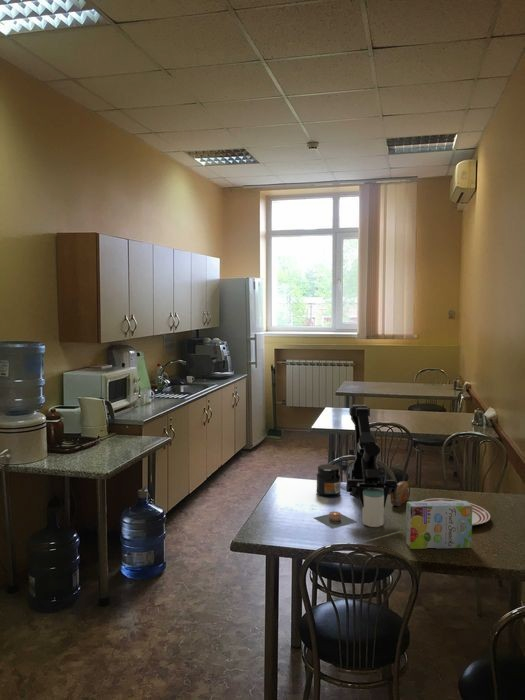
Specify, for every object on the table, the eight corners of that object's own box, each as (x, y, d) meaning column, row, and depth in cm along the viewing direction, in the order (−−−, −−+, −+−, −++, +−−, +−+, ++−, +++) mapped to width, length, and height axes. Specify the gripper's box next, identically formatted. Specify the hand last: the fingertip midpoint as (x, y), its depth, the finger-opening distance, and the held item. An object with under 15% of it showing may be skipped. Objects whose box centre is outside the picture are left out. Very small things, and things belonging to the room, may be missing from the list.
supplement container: (342, 498, 241) (342, 470, 240) (317, 498, 240) (318, 470, 239) (338, 490, 251) (339, 463, 250) (315, 490, 251) (315, 463, 250)
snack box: (465, 542, 197) (466, 500, 195) (471, 549, 191) (473, 505, 190) (405, 542, 196) (406, 500, 195) (409, 549, 190) (411, 506, 189)
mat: (312, 519, 217) (313, 517, 217) (337, 513, 223) (337, 512, 223) (332, 529, 207) (332, 528, 207) (357, 523, 213) (357, 522, 213)
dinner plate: (485, 509, 229) (486, 501, 229) (494, 535, 203) (494, 526, 202) (416, 502, 236) (416, 494, 236) (415, 527, 210) (415, 518, 210)
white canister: (361, 518, 215) (361, 488, 214) (381, 519, 215) (381, 488, 214) (364, 526, 208) (364, 495, 207) (384, 527, 208) (385, 495, 207)
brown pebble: (326, 519, 216) (327, 512, 215) (335, 516, 218) (336, 510, 218) (334, 523, 212) (334, 516, 212) (343, 520, 214) (343, 514, 214)
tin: (396, 509, 228) (396, 488, 228) (388, 507, 230) (389, 487, 229) (410, 498, 240) (411, 479, 239) (403, 497, 242) (404, 478, 241)
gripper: (347, 458, 214) (350, 497, 204) (397, 459, 213) (402, 497, 203) (344, 472, 222) (347, 510, 212) (392, 473, 222) (397, 511, 212)
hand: (373, 507), depth 210 cm, fingers closed on white canister, 7 cm apart
